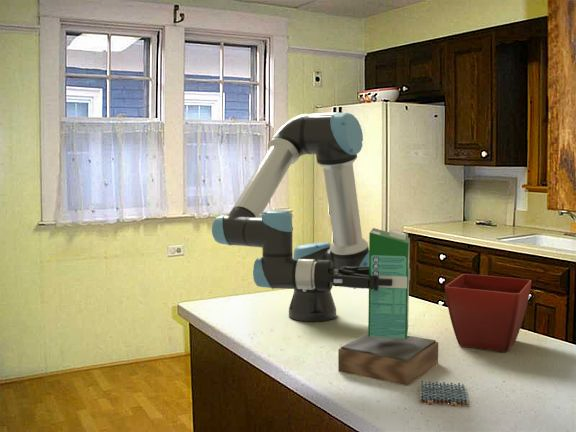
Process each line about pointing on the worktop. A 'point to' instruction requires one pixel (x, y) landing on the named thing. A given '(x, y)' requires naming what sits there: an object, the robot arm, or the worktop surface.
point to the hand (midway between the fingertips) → (408, 278)
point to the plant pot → (487, 310)
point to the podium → (388, 358)
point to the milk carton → (388, 301)
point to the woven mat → (443, 394)
